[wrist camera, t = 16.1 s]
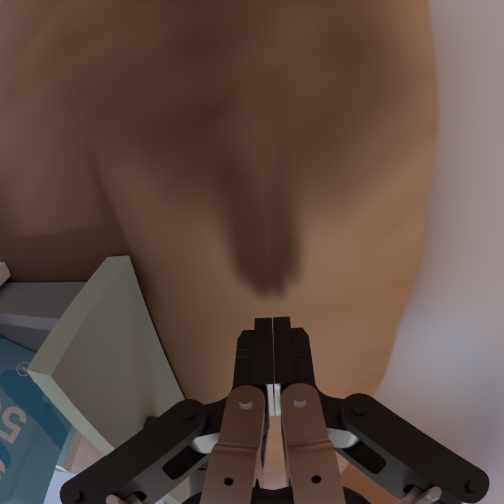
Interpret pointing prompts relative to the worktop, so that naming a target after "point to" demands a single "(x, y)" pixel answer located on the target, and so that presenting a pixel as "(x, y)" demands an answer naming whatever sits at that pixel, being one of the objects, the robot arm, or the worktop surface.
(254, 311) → the worktop surface
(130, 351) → the drawer
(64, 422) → the data package
